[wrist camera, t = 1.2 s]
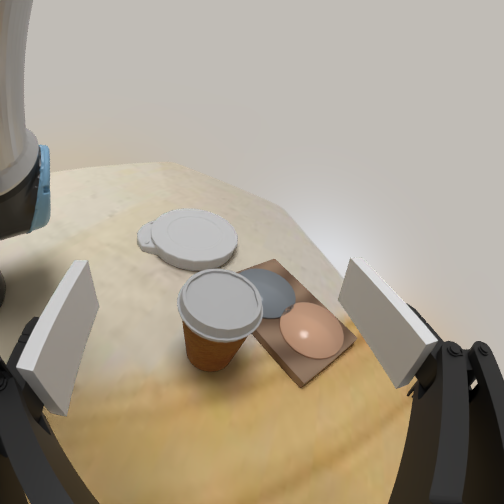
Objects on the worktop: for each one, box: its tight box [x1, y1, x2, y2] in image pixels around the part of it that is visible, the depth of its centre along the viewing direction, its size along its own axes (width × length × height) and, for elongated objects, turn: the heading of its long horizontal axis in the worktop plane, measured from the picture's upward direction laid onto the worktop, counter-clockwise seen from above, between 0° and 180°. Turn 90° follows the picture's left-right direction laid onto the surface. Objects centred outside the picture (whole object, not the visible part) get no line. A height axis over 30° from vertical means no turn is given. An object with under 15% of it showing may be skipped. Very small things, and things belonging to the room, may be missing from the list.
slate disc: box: [239, 268, 296, 319], centre depth 45 cm, size 11×11×1 cm
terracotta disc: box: [280, 302, 344, 359], centre depth 41 cm, size 11×11×1 cm
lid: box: [137, 209, 238, 271], centre depth 53 cm, size 17×20×3 cm
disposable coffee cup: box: [177, 269, 263, 372], centre depth 32 cm, size 10×10×12 cm
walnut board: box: [236, 259, 357, 388], centre depth 44 cm, size 22×14×2 cm, turn 38°
